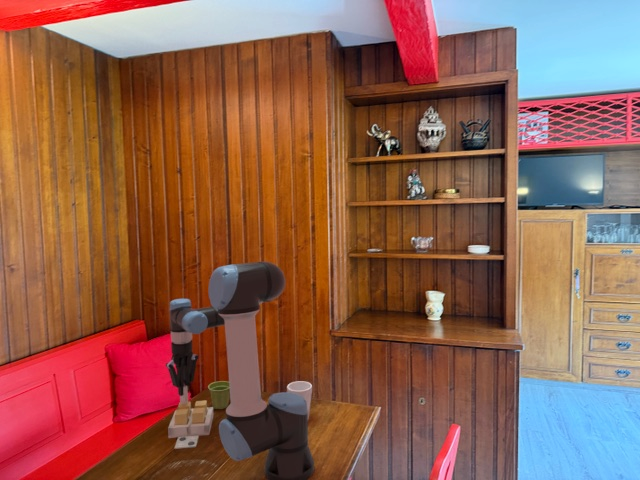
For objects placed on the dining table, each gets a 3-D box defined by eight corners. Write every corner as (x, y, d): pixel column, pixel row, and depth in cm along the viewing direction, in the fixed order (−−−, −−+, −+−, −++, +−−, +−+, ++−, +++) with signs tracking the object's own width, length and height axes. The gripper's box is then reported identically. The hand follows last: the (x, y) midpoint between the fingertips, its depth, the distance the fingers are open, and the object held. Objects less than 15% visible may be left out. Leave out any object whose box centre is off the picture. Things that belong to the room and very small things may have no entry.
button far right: (205, 415, 162) (205, 405, 161) (194, 416, 161) (194, 405, 161) (207, 410, 166) (206, 400, 165) (196, 411, 165) (196, 401, 165)
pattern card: (195, 447, 147) (195, 445, 146) (174, 449, 146) (174, 447, 146) (198, 436, 153) (198, 434, 153) (178, 438, 153) (178, 436, 152)
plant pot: (225, 399, 183) (225, 379, 182) (236, 406, 176) (236, 386, 175) (204, 405, 177) (204, 385, 176) (215, 414, 170) (214, 392, 169)
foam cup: (309, 426, 159) (309, 392, 158) (285, 424, 161) (284, 390, 160) (314, 414, 169) (313, 381, 168) (291, 412, 170) (290, 380, 169)
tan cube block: (189, 416, 161) (188, 406, 161) (178, 417, 160) (177, 407, 160) (191, 411, 165) (190, 401, 165) (180, 412, 164) (179, 402, 164)
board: (209, 434, 154) (208, 425, 154) (168, 438, 153) (167, 428, 152) (213, 415, 168) (213, 406, 168) (176, 418, 166) (175, 409, 166)
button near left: (186, 424, 155) (186, 414, 155) (175, 425, 155) (174, 414, 154) (188, 419, 159) (188, 408, 159) (177, 420, 158) (176, 409, 158)
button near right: (203, 423, 156) (203, 412, 156) (192, 424, 155) (191, 413, 155) (205, 418, 160) (204, 407, 159) (194, 418, 159) (193, 408, 159)
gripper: (190, 334, 168) (192, 393, 170) (160, 343, 158) (162, 406, 159) (202, 338, 163) (204, 398, 165) (172, 347, 153) (174, 412, 155)
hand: (184, 402), depth 162 cm, fingers closed
